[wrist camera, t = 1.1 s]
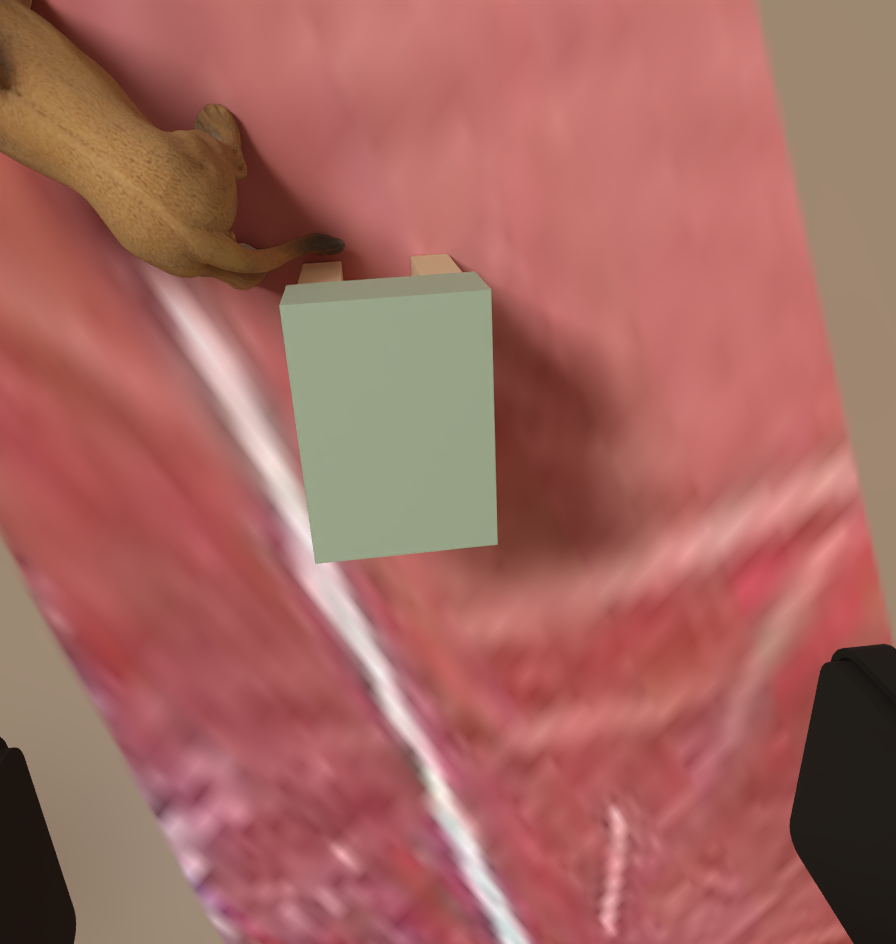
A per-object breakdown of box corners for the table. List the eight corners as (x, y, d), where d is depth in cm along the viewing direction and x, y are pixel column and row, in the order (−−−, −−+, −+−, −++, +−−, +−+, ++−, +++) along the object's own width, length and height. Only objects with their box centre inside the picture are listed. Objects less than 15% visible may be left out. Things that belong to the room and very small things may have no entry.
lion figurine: (-194, 78, 21) (-536, 50, 13) (-151, -134, 19) (-512, -321, 11) (311, 316, 25) (296, 408, 17) (382, 159, 24) (403, 179, 15)
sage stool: (296, 257, 24) (279, 305, 18) (453, 246, 25) (491, 290, 18) (321, 461, 27) (315, 563, 21) (462, 447, 28) (497, 544, 21)
